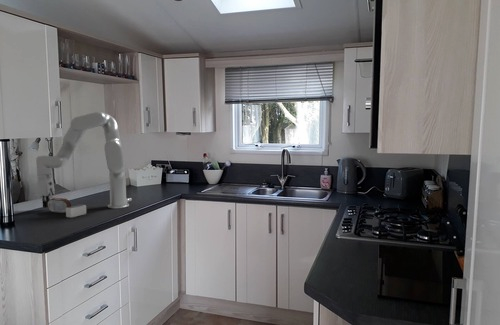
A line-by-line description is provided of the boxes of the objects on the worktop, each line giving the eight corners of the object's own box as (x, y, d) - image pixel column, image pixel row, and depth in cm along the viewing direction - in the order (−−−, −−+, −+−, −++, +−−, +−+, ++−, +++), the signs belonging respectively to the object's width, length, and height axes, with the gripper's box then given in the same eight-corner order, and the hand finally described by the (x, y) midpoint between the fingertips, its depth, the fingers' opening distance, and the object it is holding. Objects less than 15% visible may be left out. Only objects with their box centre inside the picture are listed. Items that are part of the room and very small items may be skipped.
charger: (81, 212, 212) (81, 203, 211) (86, 213, 210) (85, 204, 209) (66, 216, 203) (65, 207, 202) (71, 217, 201) (70, 208, 200)
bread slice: (71, 212, 212) (71, 198, 211) (67, 214, 209) (67, 199, 208) (50, 211, 216) (50, 197, 215) (46, 212, 213) (45, 198, 212)
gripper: (58, 176, 216) (60, 207, 217) (42, 175, 222) (44, 204, 224) (46, 178, 209) (48, 209, 211) (30, 176, 215) (32, 207, 217)
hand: (46, 206), depth 217 cm, fingers closed
